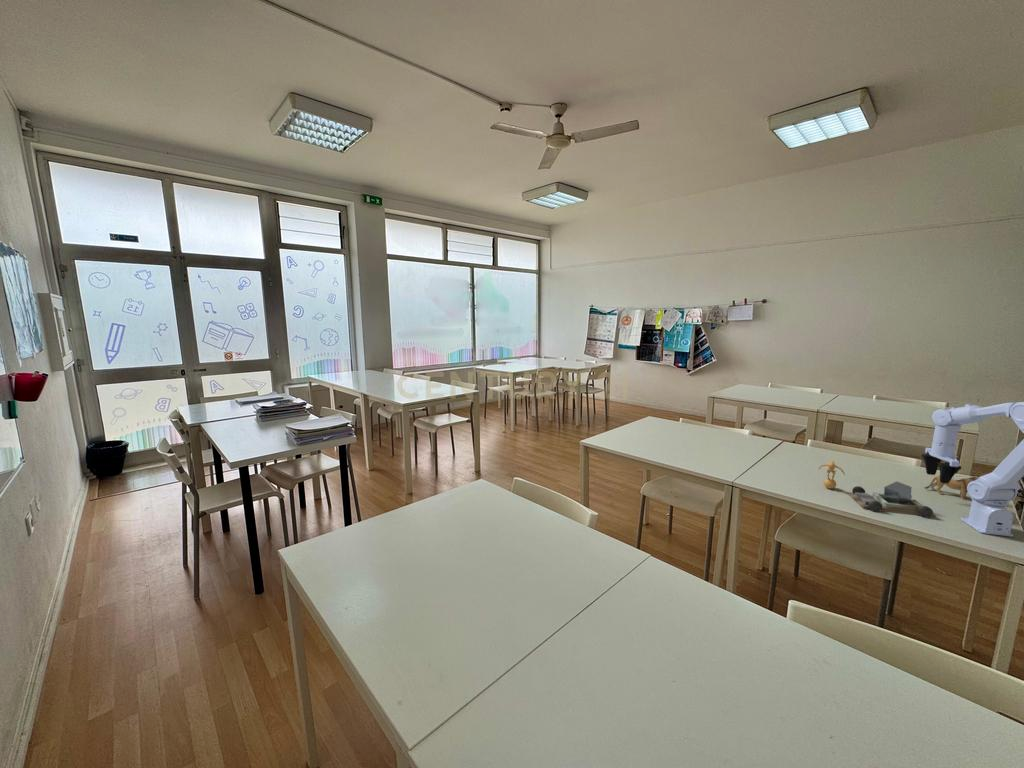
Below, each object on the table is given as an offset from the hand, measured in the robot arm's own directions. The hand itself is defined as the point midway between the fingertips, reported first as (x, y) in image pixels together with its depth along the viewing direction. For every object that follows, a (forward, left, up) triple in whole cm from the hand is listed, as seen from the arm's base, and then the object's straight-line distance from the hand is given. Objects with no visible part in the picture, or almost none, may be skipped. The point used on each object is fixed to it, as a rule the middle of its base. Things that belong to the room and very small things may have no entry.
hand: (937, 478), depth 149 cm
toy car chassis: (-7, +16, -9) cm, 20 cm away
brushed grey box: (-7, +14, -8) cm, 17 cm away
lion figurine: (+9, -11, -10) cm, 17 cm away
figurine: (+3, +31, -10) cm, 33 cm away
